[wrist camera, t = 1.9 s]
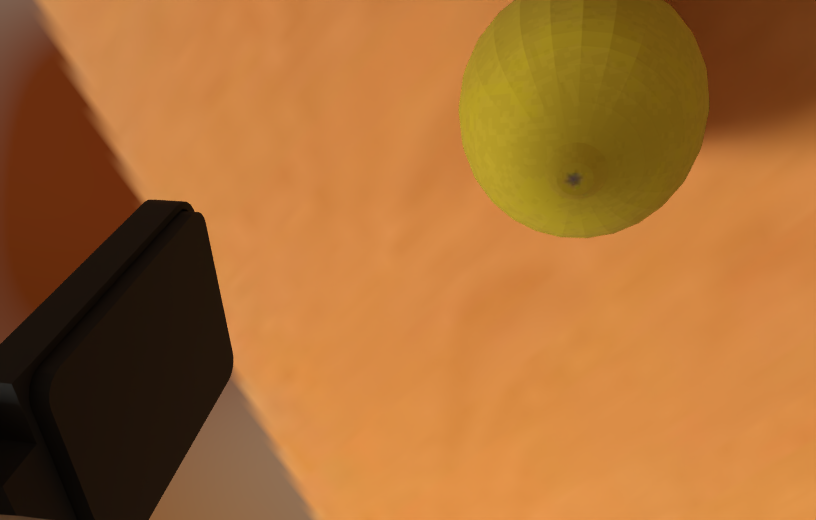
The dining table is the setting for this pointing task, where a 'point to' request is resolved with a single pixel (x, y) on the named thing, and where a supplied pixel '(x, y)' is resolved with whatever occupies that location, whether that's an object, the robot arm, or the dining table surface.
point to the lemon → (583, 112)
